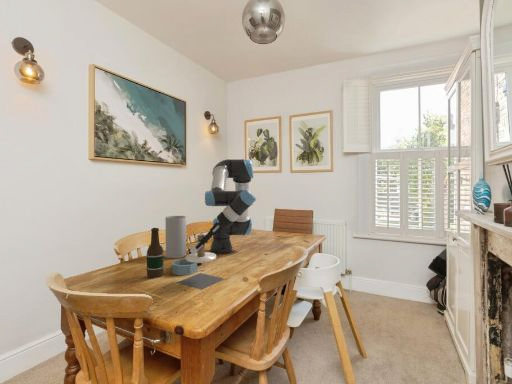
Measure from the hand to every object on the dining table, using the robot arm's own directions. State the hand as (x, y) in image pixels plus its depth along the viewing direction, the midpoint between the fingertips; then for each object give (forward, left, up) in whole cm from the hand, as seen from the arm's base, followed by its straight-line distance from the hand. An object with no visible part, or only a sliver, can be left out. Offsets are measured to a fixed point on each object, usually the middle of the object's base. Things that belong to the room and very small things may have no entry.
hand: (193, 251), depth 128 cm
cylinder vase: (-27, -42, -14) cm, 52 cm away
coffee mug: (-21, -18, -14) cm, 31 cm away
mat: (-2, +3, -14) cm, 15 cm away
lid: (-2, +3, -3) cm, 5 cm away
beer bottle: (+5, -21, -14) cm, 26 cm away
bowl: (-8, -14, -14) cm, 21 cm away
